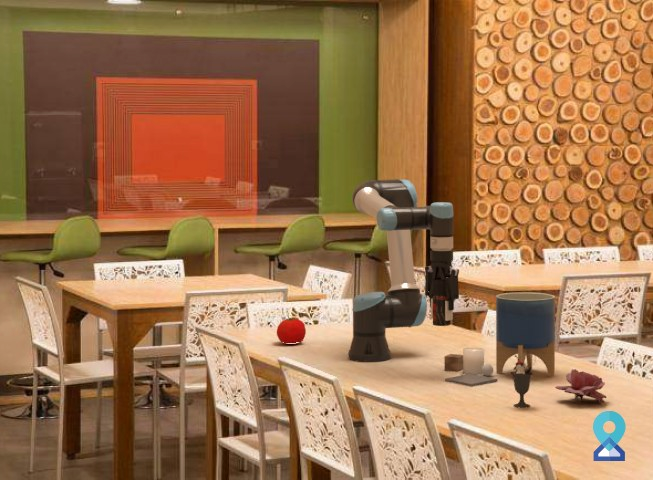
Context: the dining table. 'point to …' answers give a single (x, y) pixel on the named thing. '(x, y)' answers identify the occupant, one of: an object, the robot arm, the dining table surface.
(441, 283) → the deodorant
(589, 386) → the flower
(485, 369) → the grey ball
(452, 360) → the walnut block
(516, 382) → the sundae
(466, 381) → the slate coaster
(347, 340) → the dining table surface
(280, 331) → the tomato
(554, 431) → the dining table surface
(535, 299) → the planter
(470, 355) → the candle
